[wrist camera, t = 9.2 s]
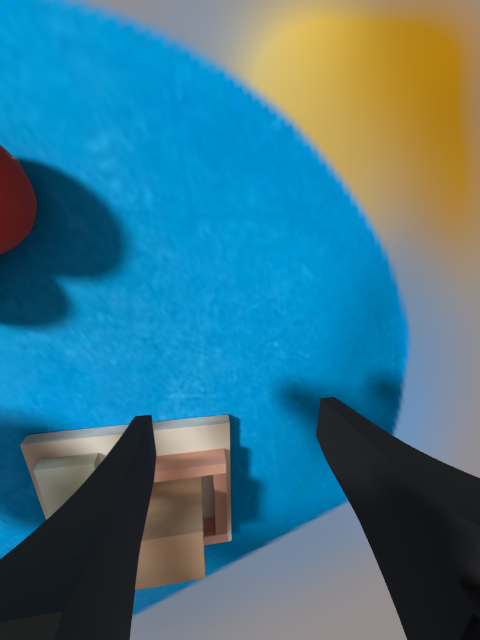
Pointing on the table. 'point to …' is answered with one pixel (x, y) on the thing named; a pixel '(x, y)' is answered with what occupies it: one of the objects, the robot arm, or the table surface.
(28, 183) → the kendama
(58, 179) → the table surface
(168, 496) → the walnut block
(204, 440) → the puzzle board
